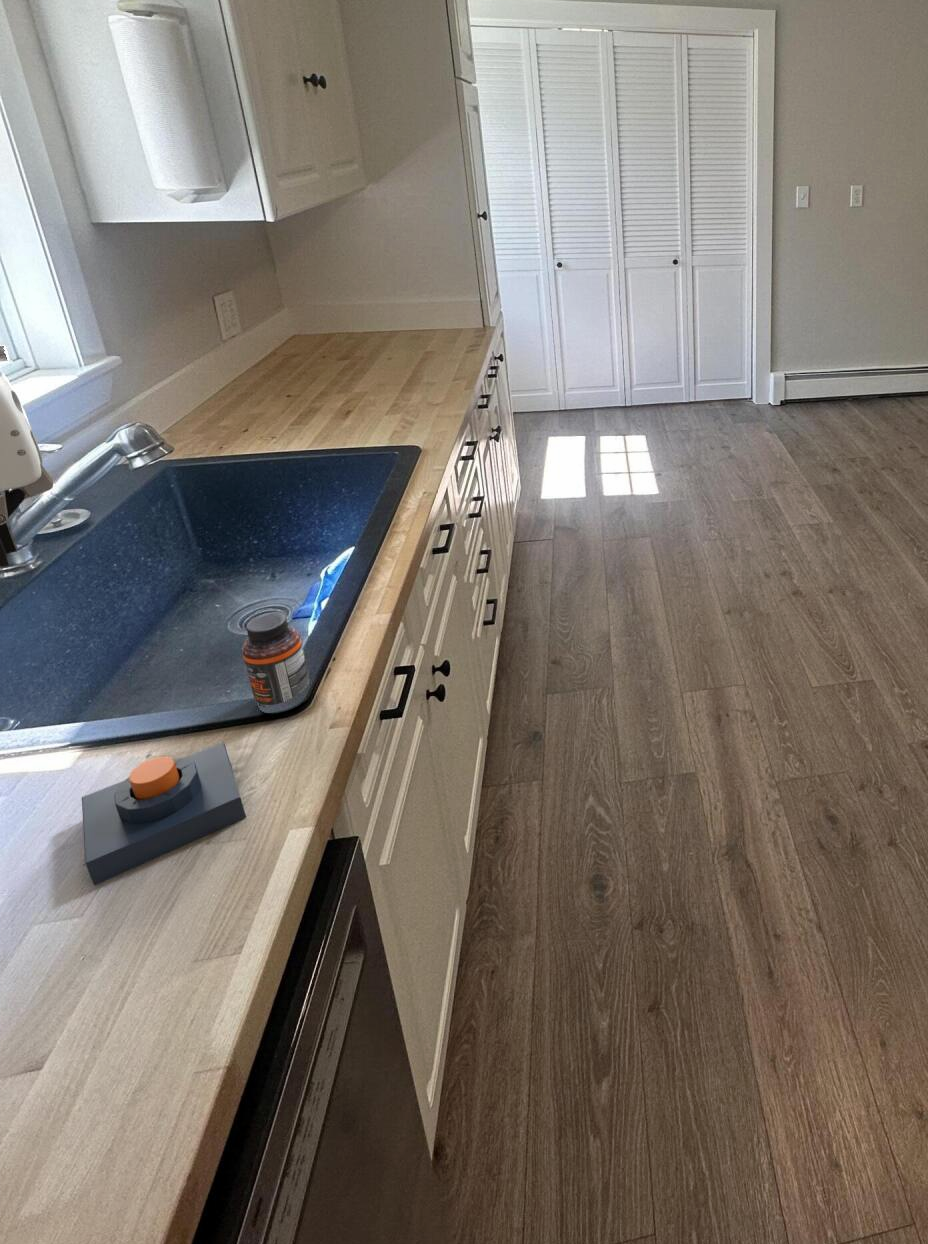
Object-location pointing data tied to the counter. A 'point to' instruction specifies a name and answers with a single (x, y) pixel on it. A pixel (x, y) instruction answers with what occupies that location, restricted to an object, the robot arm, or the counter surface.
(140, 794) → the push button
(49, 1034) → the counter surface
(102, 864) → the button box
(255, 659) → the supplement bottle
